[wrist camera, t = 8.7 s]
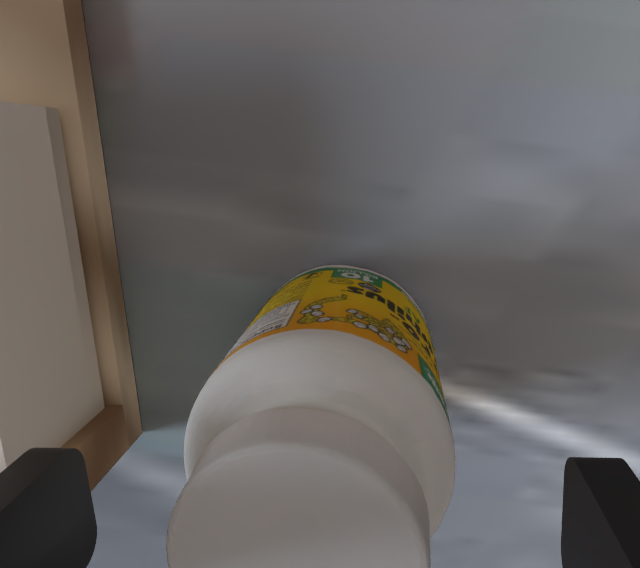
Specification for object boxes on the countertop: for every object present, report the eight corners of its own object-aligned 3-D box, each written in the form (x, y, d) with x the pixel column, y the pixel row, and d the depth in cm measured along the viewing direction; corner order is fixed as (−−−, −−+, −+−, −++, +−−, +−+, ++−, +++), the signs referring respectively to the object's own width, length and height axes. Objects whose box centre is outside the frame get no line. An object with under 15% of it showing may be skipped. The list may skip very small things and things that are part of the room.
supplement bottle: (225, 330, 18) (47, 524, 9) (356, 224, 17) (310, 318, 7) (333, 455, 18) (274, 762, 9) (468, 361, 17) (556, 608, 8)
